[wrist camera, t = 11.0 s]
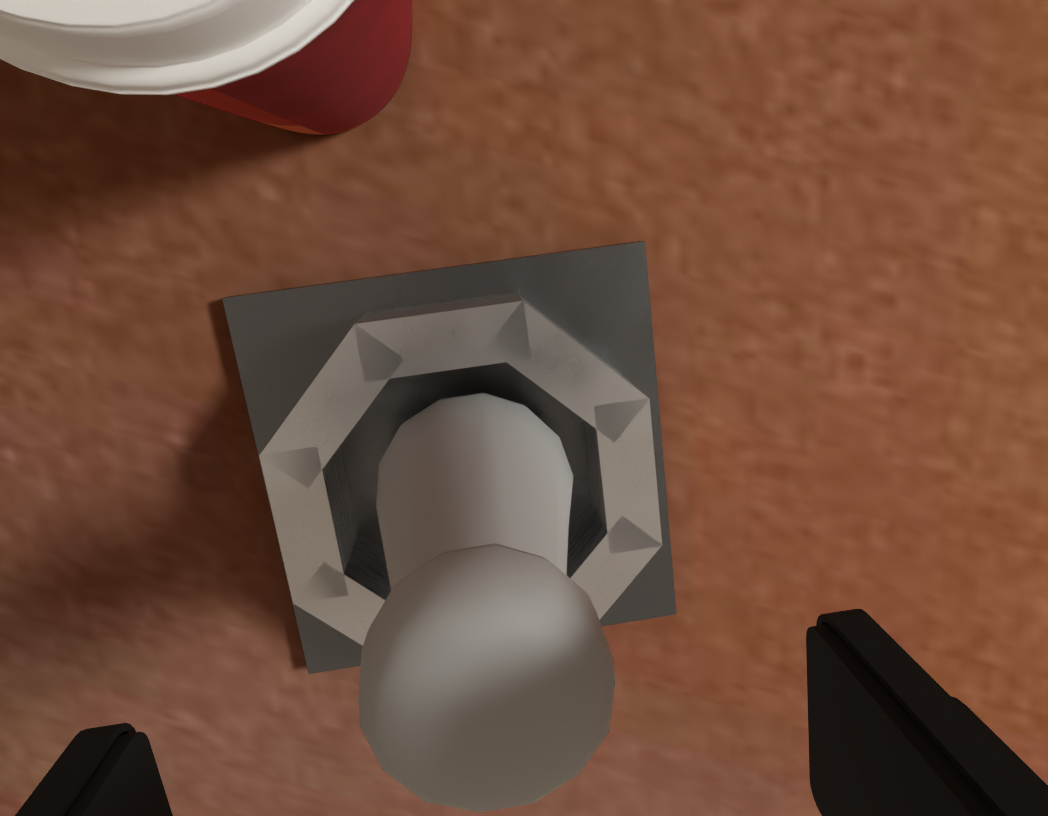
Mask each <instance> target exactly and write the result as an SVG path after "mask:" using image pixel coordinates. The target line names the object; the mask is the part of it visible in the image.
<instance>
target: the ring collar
mask: <svg viewBox="0 0 1048 816" xmlns="http://www.w3.org/2000/svg"><path fill="white" fill-rule="evenodd" d="M222 300H223V304H224V308H225V313H226V317H227V321H228V326H229V330H230V334H231V339H232V343H233V348H234V352H235V356H236V361H237V365H238V369H239V374H240V378H241V382H242V387H243V391H244V395H245V400H246V404H247V408H248V413H249V417H250V421H251V426H252V430H253V434H254V439H255V443H256V447H257V452H258V456H259V460H260V465H261V469H262V473H263V478H264V482H265V486H266V491H267V495H268V499H269V504H270V508H271V512H272V517H273V521H274V525H275V530H276V534H277V538H278V543H279V547H280V551H281V556H282V560H283V564H284V569H285V573H286V577H287V582H288V586H289V590H290V595H291V599H292V603H293V608H294V612H295V616H296V621H297V625H298V629H299V634H300V638H301V642H302V647H303V651H304V656H305V660H306V664H307V669H308V673H309V674H312V673H318V672H324V671H330V670H336V669H342V668H348V667H355V666H361V653H362V647H363V644H364V641H365V638H366V635H367V632H368V629H369V627H370V626H371V624H372V622H373V621H374V619H375V617H376V616H377V614H378V612H379V610H380V609H381V607H382V605H383V604H384V602H385V600H386V599H387V597H388V595H389V594H390V592H391V587H390V581H389V576H388V570H387V564H386V559H385V553H384V548H383V542H382V537H381V531H380V526H379V520H378V515H377V509H376V499H377V484H378V469H379V462H380V461H381V459H382V457H383V455H384V454H385V452H386V450H387V448H388V447H389V445H390V443H391V441H392V440H393V438H394V436H395V434H396V433H397V431H398V429H399V427H400V426H401V425H402V424H403V423H404V422H406V421H407V420H409V419H410V418H412V417H413V416H415V415H416V414H418V413H419V412H421V411H422V410H424V409H425V408H427V407H428V406H430V405H431V404H433V403H434V402H436V401H438V400H439V399H441V398H448V397H455V396H462V395H469V394H476V393H487V394H490V395H493V396H496V397H500V398H503V399H506V400H510V401H513V402H516V403H519V404H523V405H525V406H526V407H527V408H528V409H529V410H531V411H532V412H533V413H534V414H535V415H536V416H537V417H538V418H539V419H540V420H541V421H543V422H544V423H545V424H546V425H547V426H548V427H549V428H550V429H551V430H552V431H553V432H554V433H556V434H557V435H558V436H559V437H560V440H561V443H562V446H563V449H564V451H565V454H566V457H567V460H568V462H569V465H570V468H571V471H572V474H573V485H572V496H571V506H570V517H569V530H568V553H567V576H568V577H569V578H570V579H571V580H573V581H574V582H575V583H576V584H577V585H578V586H580V587H581V588H582V589H583V590H584V591H586V592H587V593H588V595H589V597H590V599H591V601H592V604H593V606H594V608H595V610H596V612H597V615H598V618H599V620H600V623H601V626H606V625H612V624H619V623H625V622H631V621H637V620H643V619H649V618H655V617H662V616H668V615H674V614H676V604H675V592H674V580H673V568H672V557H671V545H670V533H669V521H668V509H667V497H666V485H665V473H664V462H663V450H662V438H661V426H660V414H659V402H658V390H657V379H656V367H655V355H654V343H653V331H652V319H651V307H650V295H649V284H648V272H647V260H646V248H645V241H638V242H630V243H623V244H615V245H608V246H601V247H593V248H586V249H578V250H571V251H563V252H556V253H549V254H541V255H534V256H526V257H519V258H511V259H504V260H497V261H489V262H482V263H474V264H467V265H459V266H452V267H445V268H437V269H430V270H422V271H415V272H407V273H400V274H393V275H385V276H378V277H370V278H363V279H355V280H348V281H341V282H333V283H326V284H318V285H311V286H303V287H296V288H289V289H281V290H274V291H266V292H259V293H251V294H244V295H237V296H229V297H225V298H222Z"/></svg>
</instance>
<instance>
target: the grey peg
mask: <svg viewBox="0 0 1048 816" xmlns="http://www.w3.org/2000/svg"><path fill="white" fill-rule="evenodd" d="M572 485H573V474H572V471H571V468H570V465H569V462H568V460H567V457H566V454H565V451H564V449H563V446H562V443H561V440H560V437H559V436H558V435H557V434H556V433H554V432H553V431H552V430H551V429H550V428H549V427H548V426H547V425H546V424H545V423H544V422H543V421H541V420H540V419H539V418H538V417H537V416H536V415H535V414H534V413H533V412H532V411H531V410H529V409H528V408H527V407H526V406H525V405H523V404H519V403H516V402H513V401H510V400H506V399H503V398H500V397H496V396H493V395H490V394H487V393H476V394H469V395H462V396H455V397H448V398H441V399H439V400H438V401H436V402H434V403H433V404H431V405H430V406H428V407H427V408H425V409H424V410H422V411H421V412H419V413H418V414H416V415H415V416H413V417H412V418H410V419H409V420H407V421H406V422H404V423H403V424H402V425H401V426H400V427H399V429H398V431H397V433H396V434H395V436H394V438H393V440H392V441H391V443H390V445H389V447H388V448H387V450H386V452H385V454H384V455H383V457H382V459H381V461H380V462H379V469H378V484H377V499H376V509H377V515H378V520H379V526H380V531H381V537H382V542H383V548H384V553H385V559H386V564H387V570H388V576H389V581H390V587H391V592H390V594H389V595H388V597H387V599H386V600H385V602H384V604H383V605H382V607H381V609H380V610H379V612H378V614H377V616H376V617H375V619H374V621H373V622H372V624H371V626H370V627H369V629H368V632H367V635H366V638H365V641H364V644H363V647H362V653H361V668H360V684H359V699H358V703H359V719H360V727H361V729H362V731H363V733H364V735H365V736H366V738H367V740H368V742H369V744H370V746H371V748H372V750H373V752H374V754H375V756H376V758H377V760H378V761H379V763H380V765H381V767H382V769H383V771H385V772H386V773H387V774H389V775H390V776H391V777H393V778H394V779H395V780H397V781H398V782H399V783H401V784H402V785H403V786H405V787H406V788H407V789H409V790H410V791H411V792H413V793H414V794H416V795H417V796H418V797H420V798H421V799H422V800H424V801H425V802H430V803H435V804H440V805H445V806H450V807H455V808H460V809H465V810H470V811H475V812H483V811H489V810H495V809H501V808H507V807H513V806H520V805H526V804H532V803H534V802H536V801H537V800H539V799H541V798H542V797H544V796H545V795H547V794H549V793H550V792H552V791H553V790H555V789H556V788H558V787H560V786H561V785H563V784H564V783H566V782H568V781H569V780H571V779H572V778H574V777H576V776H577V775H579V773H580V772H581V771H582V769H583V768H584V766H585V765H586V764H587V762H588V761H589V759H590V758H591V757H592V755H593V754H594V752H595V751H596V750H597V748H598V747H599V745H600V744H601V743H602V741H603V740H604V738H605V737H606V736H607V734H608V733H609V726H610V719H611V711H612V703H613V695H614V688H615V674H614V659H613V656H612V653H611V650H610V648H609V645H608V642H607V640H606V637H605V634H604V631H603V629H602V626H601V623H600V620H599V618H598V615H597V612H596V610H595V608H594V606H593V604H592V601H591V599H590V597H589V595H588V593H587V592H586V591H584V590H583V589H582V588H581V587H580V586H578V585H577V584H576V583H575V582H574V581H573V580H571V579H570V578H569V577H568V576H567V553H568V530H569V517H570V506H571V496H572Z"/></svg>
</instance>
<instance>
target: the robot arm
mask: <svg viewBox="0 0 1048 816" xmlns="http://www.w3.org/2000/svg"><path fill="white" fill-rule="evenodd" d="M806 647H807V686H808V726H809V766H810V785H811V790H812V794H813V797H814V800H815V802H816V805H817V807H818V809H819V811H820V813H821V815H822V816H1048V785H1047V784H1046V783H1045V782H1043V781H1042V780H1041V779H1040V778H1039V777H1038V776H1037V775H1036V774H1035V773H1034V772H1033V771H1032V770H1031V769H1030V768H1029V767H1028V766H1027V765H1026V764H1025V763H1024V762H1023V761H1022V760H1021V759H1020V758H1019V757H1018V756H1017V755H1016V754H1015V753H1014V752H1013V751H1012V750H1011V749H1010V748H1009V747H1008V746H1007V745H1006V744H1005V743H1004V742H1003V741H1002V740H1001V739H1000V738H999V737H998V736H997V735H996V734H995V733H994V732H993V731H992V730H991V729H990V728H989V727H987V726H986V725H985V724H984V723H983V722H982V721H981V720H980V719H979V718H978V717H977V716H976V715H975V714H974V713H973V712H972V711H971V710H970V709H969V708H968V707H967V706H966V705H965V704H963V703H962V702H961V701H960V700H958V699H957V698H955V697H951V696H950V695H949V694H948V693H947V692H946V691H945V690H944V689H943V688H942V687H941V686H940V685H939V684H938V683H937V682H936V681H935V680H934V679H933V678H932V677H931V676H930V675H929V674H928V673H927V672H926V671H925V670H924V669H923V668H922V667H921V666H920V665H919V664H918V663H917V662H915V661H914V660H913V659H912V658H911V657H910V656H909V655H908V654H907V653H906V652H905V651H904V650H903V649H902V648H901V647H900V646H899V645H898V644H897V643H896V642H895V641H894V640H893V639H892V638H891V637H890V636H889V635H888V634H887V633H886V632H885V631H884V630H883V629H882V628H881V627H880V626H879V625H878V624H877V623H876V622H875V621H874V620H873V619H872V618H871V617H870V616H869V615H868V614H867V613H866V612H865V611H863V610H862V609H853V610H846V611H840V612H834V613H827V614H821V615H820V616H819V617H818V619H817V625H816V626H813V627H809V628H808V630H807V634H806ZM15 816H173V815H172V812H171V809H170V806H169V803H168V799H167V796H166V793H165V790H164V787H163V783H162V780H161V777H160V774H159V771H158V768H157V764H156V761H155V758H154V755H153V752H152V749H151V745H150V742H149V740H148V737H147V735H145V734H144V733H143V732H136V731H135V729H134V728H133V727H132V726H131V725H130V724H127V723H122V724H116V725H109V726H103V727H96V728H90V729H85V730H83V731H80V732H79V733H78V734H77V735H76V736H75V737H74V739H73V740H72V741H71V743H70V744H69V745H68V746H67V748H66V749H65V750H64V752H63V753H62V754H61V756H60V757H59V758H58V760H57V761H56V762H55V764H54V765H53V766H52V768H51V769H50V770H49V772H48V773H47V774H46V776H45V777H44V778H43V780H42V781H41V782H40V783H39V785H38V786H37V787H36V789H35V790H34V791H33V793H32V794H31V795H30V797H29V798H28V799H27V801H26V802H25V803H24V805H23V806H22V807H21V809H20V810H19V811H18V813H17V814H16V815H15Z"/></svg>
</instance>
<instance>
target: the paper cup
mask: <svg viewBox="0 0 1048 816" xmlns="http://www.w3.org/2000/svg"><path fill="white" fill-rule="evenodd" d="M411 39H412V0H0V59H1V60H3V61H5V62H8V63H10V64H12V65H14V66H16V67H18V68H20V69H22V70H25V71H28V72H31V73H34V74H37V75H40V76H43V77H46V78H49V79H52V80H55V81H58V82H61V83H64V84H67V85H70V86H74V87H80V88H86V89H92V90H98V91H104V92H110V93H116V94H124V95H173V94H174V95H177V96H180V97H183V98H187V99H190V100H193V101H196V102H199V103H202V104H205V105H208V106H211V107H214V108H217V109H220V110H223V111H226V112H229V113H233V114H236V115H239V116H242V117H245V118H248V119H251V120H255V121H258V122H261V123H265V124H268V125H271V126H275V127H278V128H281V129H286V130H290V131H294V132H299V133H306V134H319V135H321V134H334V133H339V132H343V131H347V130H350V129H352V128H355V127H357V126H359V125H361V124H363V123H365V122H367V121H368V120H370V119H371V118H373V117H374V116H375V115H376V114H378V113H379V112H380V111H381V110H382V109H383V108H384V107H385V106H386V105H387V104H388V102H389V101H390V100H391V99H392V97H393V96H394V94H395V93H396V91H397V89H398V88H399V86H400V84H401V82H402V79H403V77H404V74H405V71H406V68H407V65H408V60H409V55H410V49H411Z"/></svg>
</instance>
